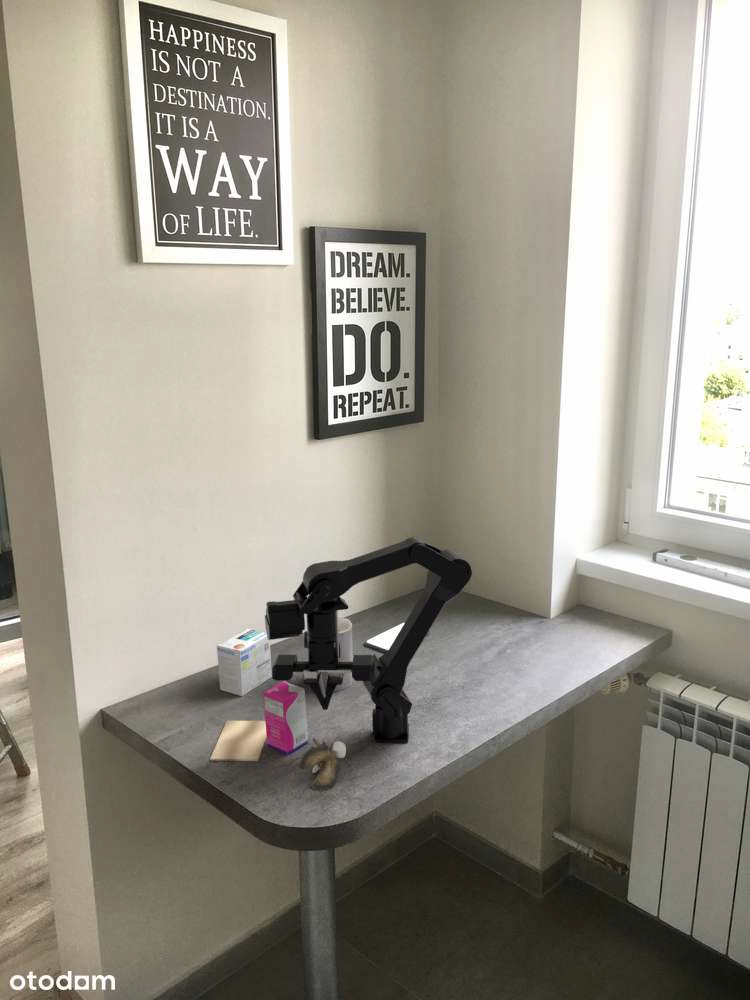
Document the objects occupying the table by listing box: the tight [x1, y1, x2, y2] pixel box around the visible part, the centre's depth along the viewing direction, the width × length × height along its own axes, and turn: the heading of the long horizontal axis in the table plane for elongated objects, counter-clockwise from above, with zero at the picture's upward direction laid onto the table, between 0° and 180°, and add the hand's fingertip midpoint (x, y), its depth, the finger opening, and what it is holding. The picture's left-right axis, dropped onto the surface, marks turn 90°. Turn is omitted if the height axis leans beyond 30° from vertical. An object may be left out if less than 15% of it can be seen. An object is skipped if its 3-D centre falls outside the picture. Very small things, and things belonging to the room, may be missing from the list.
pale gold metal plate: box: [209, 720, 267, 762], centre depth 162 cm, size 9×14×1 cm, turn 177°
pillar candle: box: [322, 616, 354, 693], centre depth 184 cm, size 10×10×15 cm
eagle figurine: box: [298, 737, 347, 792], centre depth 149 cm, size 8×7×9 cm
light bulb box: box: [216, 628, 272, 697], centre depth 184 cm, size 11×7×11 cm, turn 149°
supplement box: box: [262, 681, 309, 756], centre depth 159 cm, size 6×6×12 cm
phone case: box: [364, 621, 430, 654], centre depth 207 cm, size 9×2×16 cm
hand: (325, 708), depth 158 cm, fingers closed
